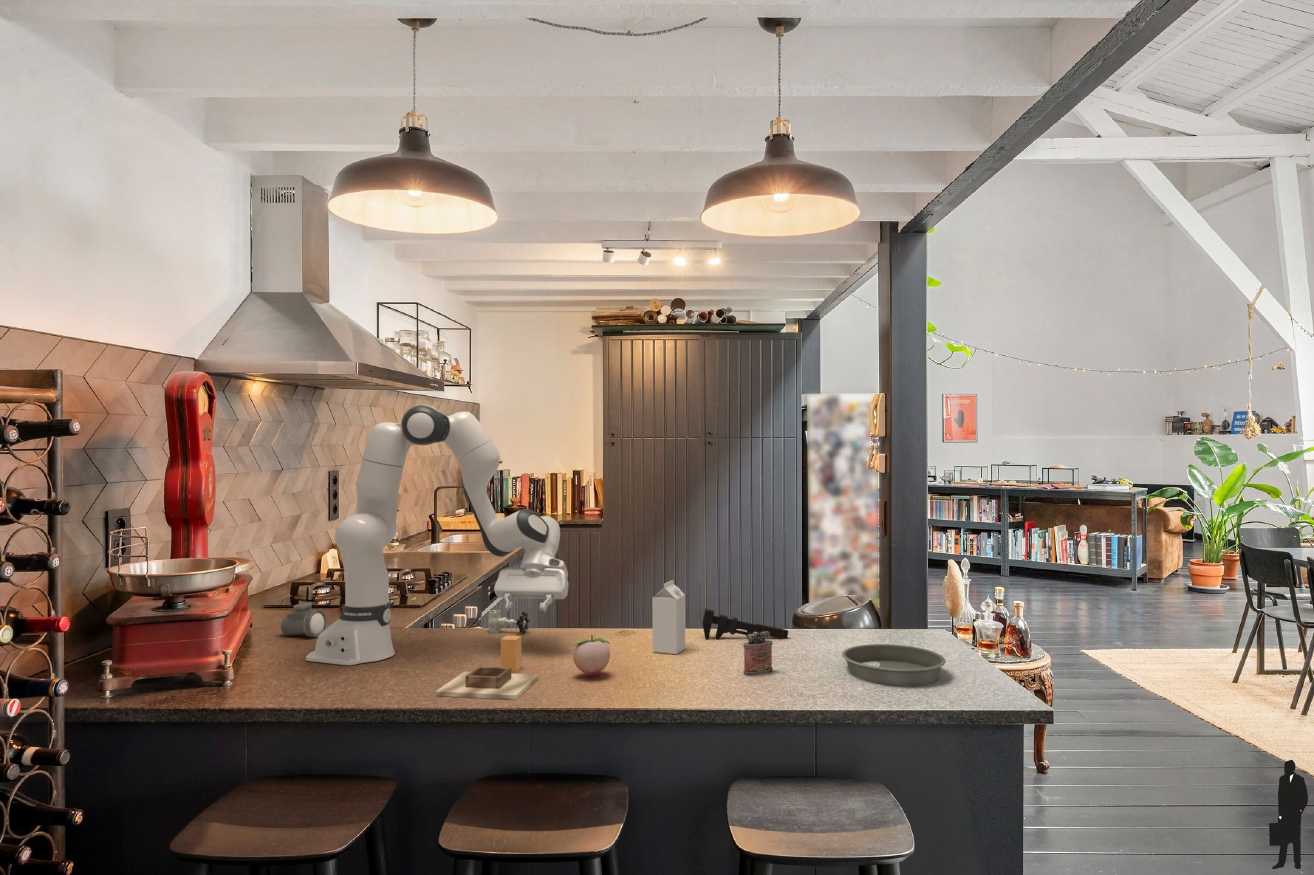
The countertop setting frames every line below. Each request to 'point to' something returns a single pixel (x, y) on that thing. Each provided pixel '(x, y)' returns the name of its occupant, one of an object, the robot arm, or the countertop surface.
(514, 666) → the orange cap block
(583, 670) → the decorative fruit
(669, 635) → the milk carton
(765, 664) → the lighter
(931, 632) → the countertop surface
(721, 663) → the countertop surface
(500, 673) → the socket board
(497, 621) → the valve
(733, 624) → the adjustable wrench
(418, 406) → the robot arm
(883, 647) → the cake pan
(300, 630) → the pipe fitting
